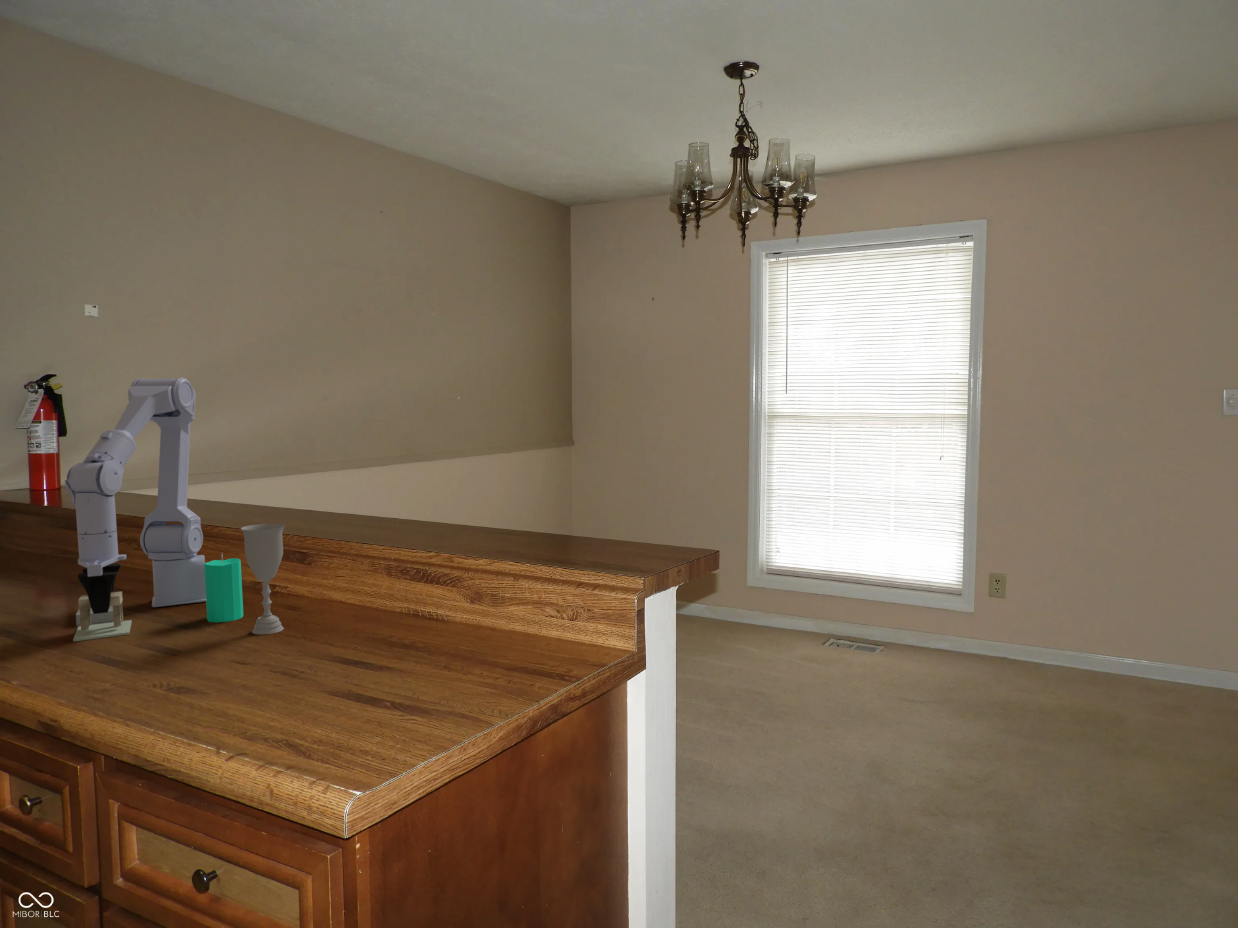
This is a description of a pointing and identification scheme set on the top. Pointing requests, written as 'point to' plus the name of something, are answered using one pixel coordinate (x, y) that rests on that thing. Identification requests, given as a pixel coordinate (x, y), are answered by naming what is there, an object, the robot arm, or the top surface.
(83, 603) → the beige toy stool
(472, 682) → the top surface
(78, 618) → the step
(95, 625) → the mat
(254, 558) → the chalice
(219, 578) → the candle
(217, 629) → the top surface
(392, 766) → the top surface
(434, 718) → the top surface
